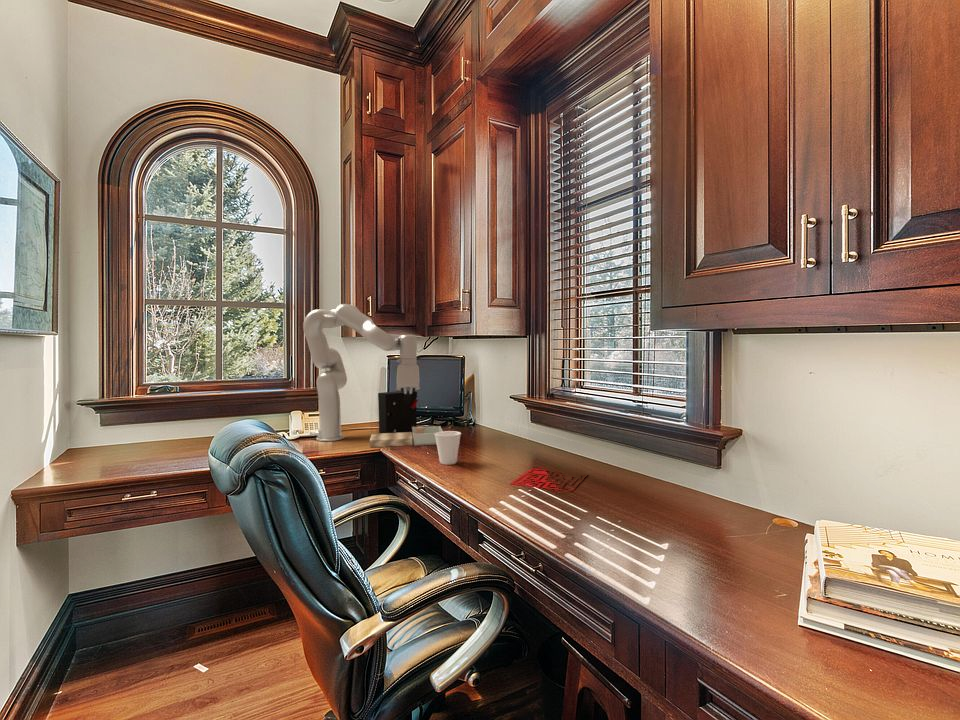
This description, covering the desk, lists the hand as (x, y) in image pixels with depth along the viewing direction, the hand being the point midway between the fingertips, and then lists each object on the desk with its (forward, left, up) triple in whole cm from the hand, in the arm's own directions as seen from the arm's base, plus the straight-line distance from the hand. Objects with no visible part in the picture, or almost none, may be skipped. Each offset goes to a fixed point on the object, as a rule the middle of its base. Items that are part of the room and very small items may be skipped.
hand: (407, 402), depth 229 cm
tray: (+8, -4, -17) cm, 19 cm away
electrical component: (-5, +20, -17) cm, 27 cm away
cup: (+13, -46, -17) cm, 51 cm away
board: (-8, -4, -17) cm, 19 cm away
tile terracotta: (+4, 0, -14) cm, 14 cm away
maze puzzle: (+43, -75, -18) cm, 88 cm away
